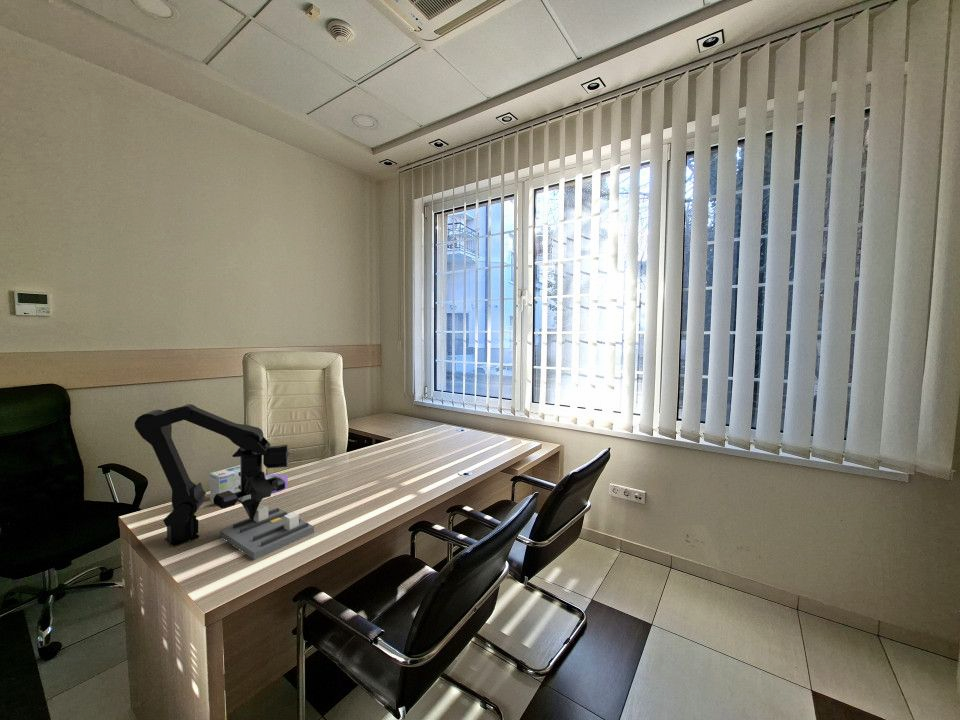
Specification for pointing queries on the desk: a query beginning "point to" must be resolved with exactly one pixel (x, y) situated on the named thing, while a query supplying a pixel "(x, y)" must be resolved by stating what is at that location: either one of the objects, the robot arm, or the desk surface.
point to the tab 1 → (261, 513)
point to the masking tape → (280, 478)
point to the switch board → (264, 534)
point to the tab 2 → (291, 521)
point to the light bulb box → (224, 481)
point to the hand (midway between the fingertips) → (251, 518)
